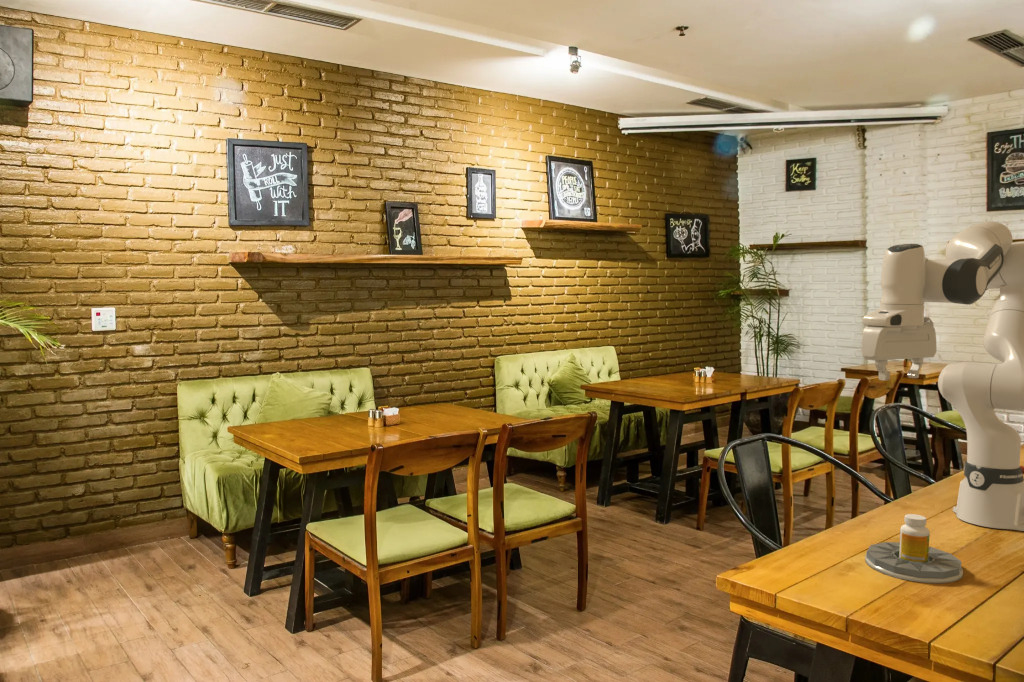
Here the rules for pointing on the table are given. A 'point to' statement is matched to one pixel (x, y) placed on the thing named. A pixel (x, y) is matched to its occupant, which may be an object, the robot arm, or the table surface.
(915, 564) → the grey faceted round plate
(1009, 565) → the table surface
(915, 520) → the supplement bottle
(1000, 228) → the robot arm
